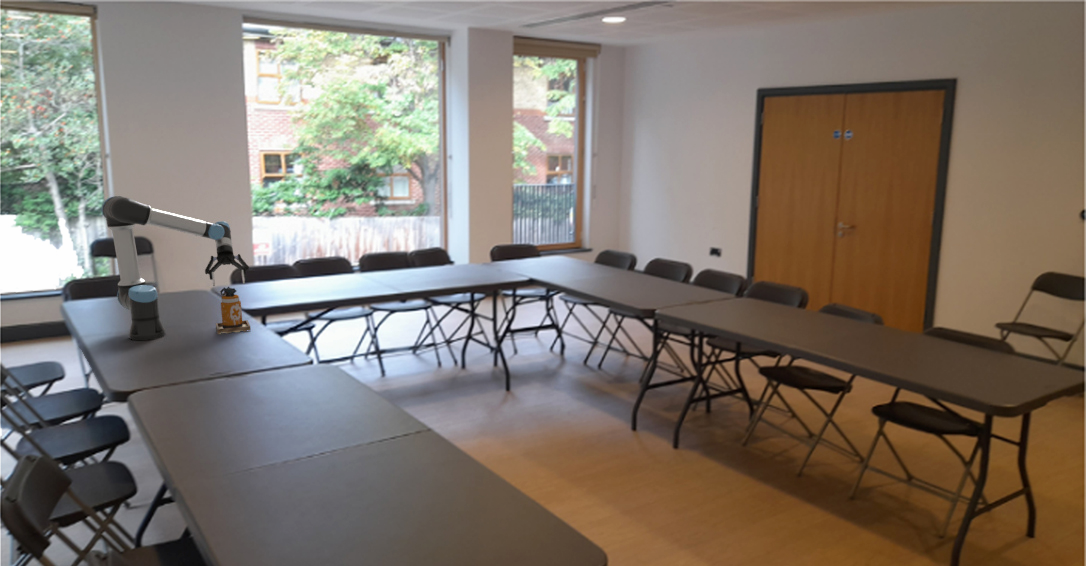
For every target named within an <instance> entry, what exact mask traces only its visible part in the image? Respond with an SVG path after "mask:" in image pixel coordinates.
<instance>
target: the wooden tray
mask: <svg viewBox="0 0 1086 566" xmlns="http://www.w3.org/2000/svg"><path fill="white" fill-rule="evenodd" d="M242 324H243V326H242V327H234V328H223V324H222V322H218V323H217V322H216V323H215V329H216V332H217V333H216V334H217V335H222V334H221V333H226V334H231V332H235V333H241V332H240V331H244V332H248V331H247V330H251V324H250V323H249V321H248V320H247V319H245V320H244V319H243V320H242Z"/></svg>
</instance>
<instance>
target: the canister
mask: <svg viewBox="0 0 1086 566" xmlns="http://www.w3.org/2000/svg"><path fill="white" fill-rule="evenodd" d="M219 292H220V296H221V297H220V298H221V302H220V310H221V312H220V313H221V323H222V324H223V328H234V327H242V326H243V324H242V321H243V312H242V302H241V300H240V296H239V295H238V294H236V293H237V289H236V288H235V287H233V288H232V287H230V286H227V287H223V288H222V289H221V290H220V291H219Z"/></svg>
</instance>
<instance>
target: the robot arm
mask: <svg viewBox="0 0 1086 566" xmlns="http://www.w3.org/2000/svg"><path fill="white" fill-rule="evenodd" d="M101 213H102V215H103V216H104V218H105V220H106V225H107V228H108V229H109V230H111V232H112V237H113V244H114V249H115V250H114V251H115V255H116V260H117V265H118V272H119V277H120V280H119V281H118V283H117V288H118V291H117V294H116V298H117V300H118V303H119V304H120V305H121V306H122V307H123V308H125V309H126V310H129V311H130V317H131V323H130V328H129V332H128V338H130V339H129V340H131V339H132V341H147V340H148V339H150V340H155V338H156V339H159V338H163V337H164V335H165V336H166V329H165V327H164V325H163V323H162V321H161V318H160V317H161V316H160V308H159V294H158V290H157V288H156V287H154V285H147V284H146V283H147V282H146V280H145V279H144V278H142V276H141V269H140V263H139V257H138V253H137V252H138V251H137V247H136V239H135V235H134V227H135V226H136V225H141V226H147V225H150V226H154V227H160V228H164V229H168V230H172V231H177V232H181V233H186V234H188V235H189V234H190V235H194V236H196V237H202V238H206V239H211V240H213V241H215V246H216V247H215V248H216V256H213V255H211V256H210V260H209V262H208V263H207V266H206V267H205V269H204V273H205V275H208V276H209V280H211V281H212V286H213V287H215V286H216V282H215V274H214V273H215V271H216V270H218V269H219V267H221V266H222V265H223V266H226V265H232V266H234V267H235V268H237V270H239V271H241V279H242V284H243V285H245V283H246V282H245V281H246V278H247V272H250V266H249V265H248V264H247V263H246V262H245V259H243V258H242V256H241V254H240V253H238V254H237V255H235V254H234V249H233V242H232V235H231V234H232V232H231V227H230V224H229V223H228V222H227V221H223V220H222V221H220V220H219V221H216V222H215V223H212V222H208V221H204V220H201V219H197V218H193V217H189V216H185V215H181V214H176V213H172V212H169V211H164V210H160V209H157V208H153V207H152V206H151V205H149V204H145V203H143V202H139V201H138V200H137V201H136V200H135V199H132V198H130V197H125V196H120V195H115V196H110V197H108V198H107V199H105V200H104V201H103V203H102V206H101ZM235 259H236V260H237V261H236V260H235ZM215 261H217V262H216V263H215V264H214V262H215ZM162 336H163V337H162ZM148 341H149V340H148Z"/></svg>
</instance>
